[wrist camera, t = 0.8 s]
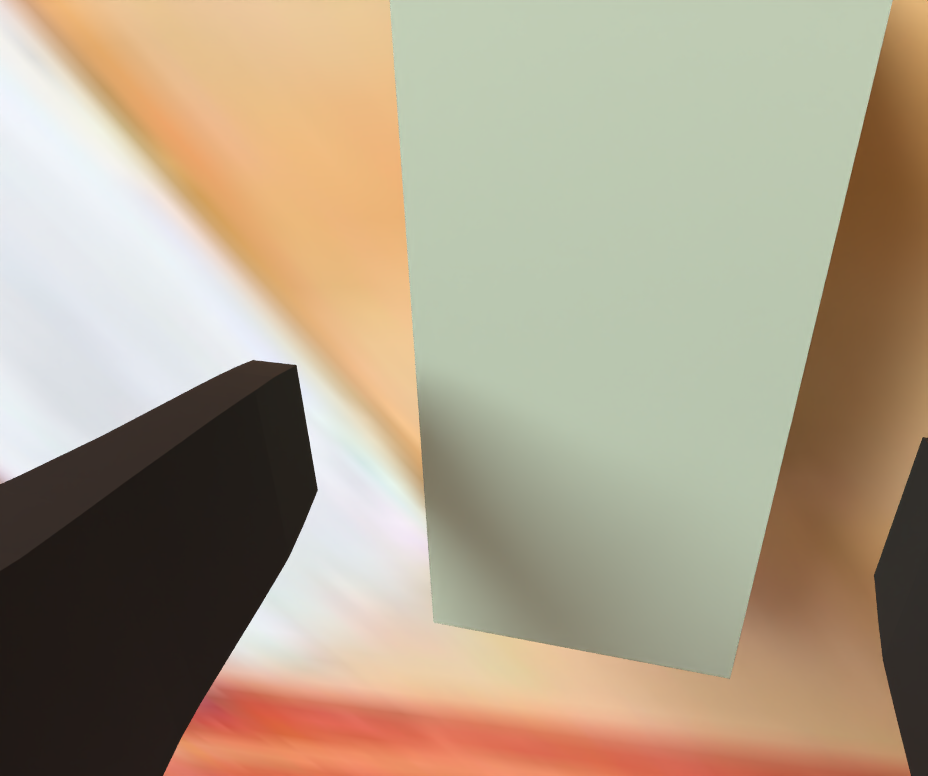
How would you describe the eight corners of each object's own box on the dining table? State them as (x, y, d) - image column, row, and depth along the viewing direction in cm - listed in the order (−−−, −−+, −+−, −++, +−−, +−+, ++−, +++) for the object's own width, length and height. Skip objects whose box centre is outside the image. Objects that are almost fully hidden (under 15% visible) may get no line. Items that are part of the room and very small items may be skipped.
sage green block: (726, 484, 17) (730, 679, 13) (496, 452, 18) (433, 622, 14) (830, -53, 12) (893, -5, 8) (492, -49, 13) (389, -7, 9)
